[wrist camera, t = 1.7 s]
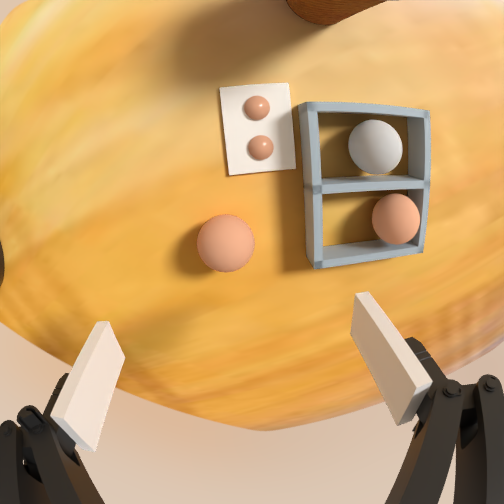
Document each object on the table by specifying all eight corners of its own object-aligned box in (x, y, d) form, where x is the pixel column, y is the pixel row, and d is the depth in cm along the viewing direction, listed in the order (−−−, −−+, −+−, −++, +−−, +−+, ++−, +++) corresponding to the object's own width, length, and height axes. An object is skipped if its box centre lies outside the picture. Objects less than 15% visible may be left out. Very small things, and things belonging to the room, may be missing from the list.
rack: (306, 255, 29) (314, 269, 26) (297, 104, 23) (306, 101, 20) (408, 241, 29) (422, 252, 27) (412, 110, 23) (429, 110, 20)
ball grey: (341, 170, 25) (363, 180, 21) (338, 119, 23) (361, 118, 19) (385, 169, 26) (412, 178, 21) (383, 121, 24) (412, 121, 19)
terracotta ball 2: (362, 236, 28) (384, 255, 24) (364, 189, 26) (389, 202, 22) (400, 231, 29) (426, 249, 24) (403, 187, 27) (431, 199, 22)
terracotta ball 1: (203, 260, 28) (200, 286, 23) (195, 211, 26) (189, 229, 21) (254, 254, 28) (260, 278, 24) (249, 204, 26) (254, 221, 22)
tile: (229, 174, 25) (229, 175, 24) (219, 88, 22) (219, 87, 21) (295, 168, 25) (296, 169, 25) (287, 83, 22) (289, 82, 21)
